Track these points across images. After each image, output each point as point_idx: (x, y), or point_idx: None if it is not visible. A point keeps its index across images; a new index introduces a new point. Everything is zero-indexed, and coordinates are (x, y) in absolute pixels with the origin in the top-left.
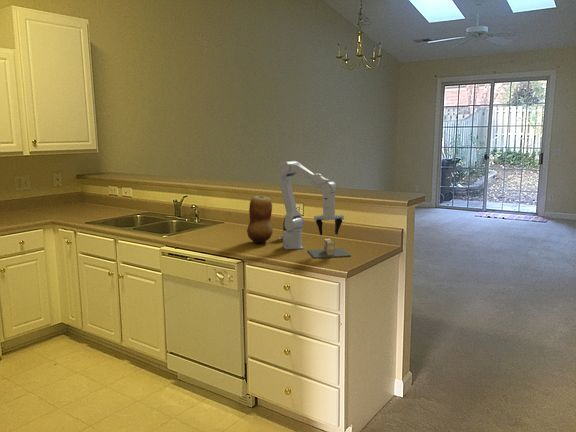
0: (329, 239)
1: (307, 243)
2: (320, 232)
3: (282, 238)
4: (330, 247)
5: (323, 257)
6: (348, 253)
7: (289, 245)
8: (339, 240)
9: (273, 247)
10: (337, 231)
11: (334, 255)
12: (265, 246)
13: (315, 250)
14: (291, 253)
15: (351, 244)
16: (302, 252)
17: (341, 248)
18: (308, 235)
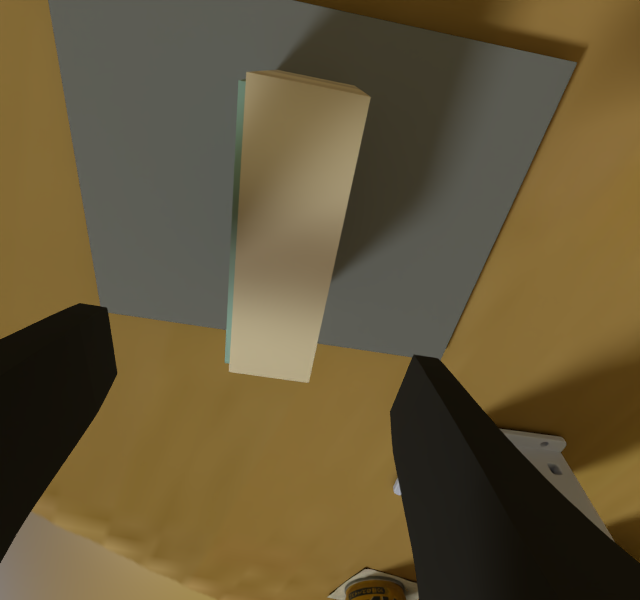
0: (246, 332)
1: (325, 503)
2: (470, 402)
3: (407, 591)
4: (329, 84)
5: (449, 35)
6: (66, 75)
7: (537, 465)
8: (90, 500)
9: None
10: (27, 336)
11: (282, 43)
12: (608, 519)
13: (385, 326)
14: (607, 339)
15: None
16: (501, 336)
17: (115, 309)
18: (249, 596)
